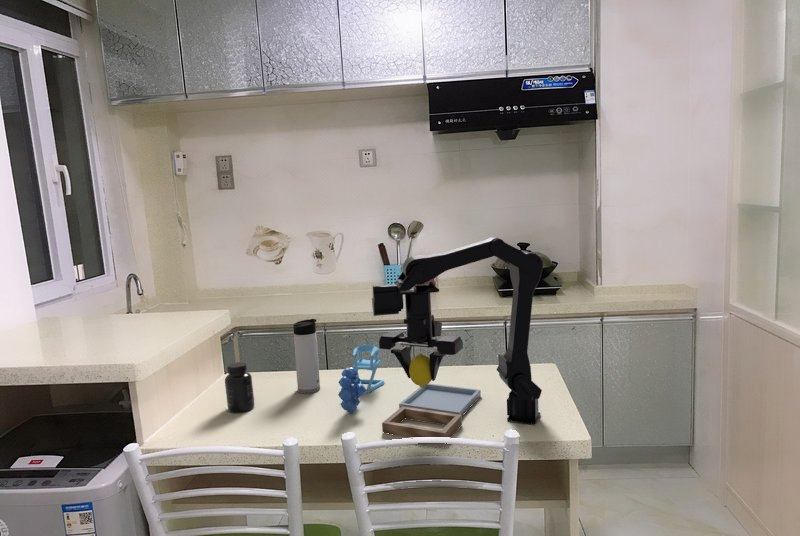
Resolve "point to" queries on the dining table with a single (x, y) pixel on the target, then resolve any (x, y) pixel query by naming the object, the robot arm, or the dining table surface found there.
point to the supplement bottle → (239, 388)
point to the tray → (442, 398)
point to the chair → (368, 365)
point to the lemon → (420, 370)
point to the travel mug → (306, 356)
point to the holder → (404, 430)
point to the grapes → (350, 389)
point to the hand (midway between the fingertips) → (421, 379)
